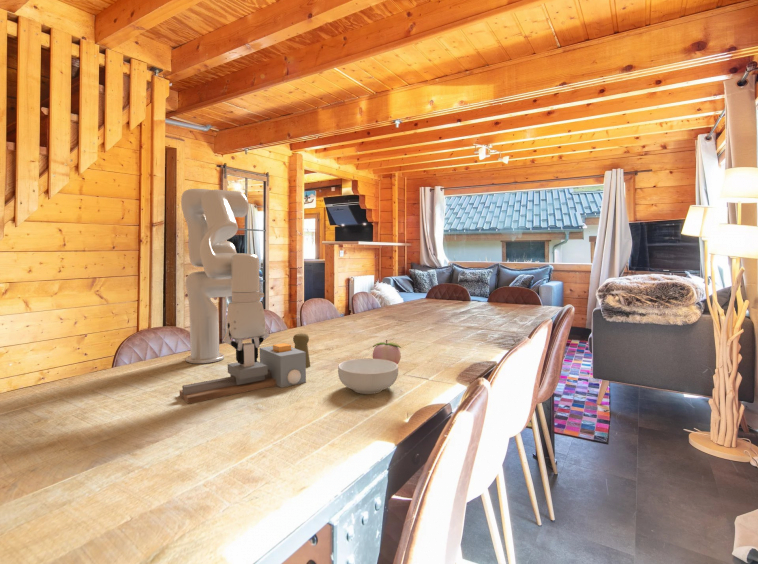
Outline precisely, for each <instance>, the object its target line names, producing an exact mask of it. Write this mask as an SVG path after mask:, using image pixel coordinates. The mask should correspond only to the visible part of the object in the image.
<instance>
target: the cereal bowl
mask: <svg viewBox="0 0 758 564" xmlns="http://www.w3.org/2000/svg"><path fill="white" fill-rule="evenodd" d="M337 373H338V379H339V380H340V382H341V384H343V385H344V386H345V387H346V388H348V389H350V390H353V392H355V393H357V394H362V395H363V394H364V395H372V394H373V395H374V394H379V393H380V392H382V391H383V390H386V389H389V388H390V387H392V386H393V385H394V384H395V383H396V381H397V378H398V375H399V365H398V364H396V363H394V362H392V361H388V360H382V359H373V358H353V359H347V360H344V361H342V362H340V363H339V364H338V366H337Z"/></svg>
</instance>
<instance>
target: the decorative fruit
mask: <svg viewBox="0 0 758 564" xmlns="http://www.w3.org/2000/svg"><path fill="white" fill-rule="evenodd" d="M372 348H374V349H373V350H372V351H373V352H372V359H382V360H388V361H392V362H394V363H396V364H397V365H398V364H399V363H400V361H401V358H402V356H401V350H400V349H401V348H402V347H401V346H400V344H398V343H396V342H388V340H387V339H385V342H377V343H375V344H374V345H372Z"/></svg>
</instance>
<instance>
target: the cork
mask: <svg viewBox="0 0 758 564" xmlns="http://www.w3.org/2000/svg"><path fill="white" fill-rule="evenodd" d="M309 337H310V336H309V335H308V333H307V334H306V333H300V332H299V333H296V334H294V335H293V337H292V340H293V343H294V348H295V349H298V350H301V351H304V352H306V369H307V368H311V360H310V352H309V346H308V343H309V340H310V338H309Z"/></svg>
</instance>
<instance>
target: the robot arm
mask: <svg viewBox="0 0 758 564" xmlns="http://www.w3.org/2000/svg"><path fill="white" fill-rule="evenodd" d="M180 204H181V206H180V207H181V211H182V215H183V218H184V219H185V222H186V225H187V231H188V232H187V239H188V254H189V255H188V256H189V262H190V263H191V265H192V266H193V267H196V268H203V270H201V271H200V270H199V271H194V272H191V273H189V274H188V275H187V276H186V278H185V288H186V294H187V300H188V310H189V311H188V314H189V340H190V355H188V356H186V357H185V361H186V362H187V363H189V364H209V363H215V362H219V361H221V360H222V361H223V359H224V358H225V355H224V353H222V352H220V328H219V326H220V325H219V321H220V320H219V309H218V307H217V305H216V304H215V303H214V302H213V301H212V300H211V299H214V298H227V297H231V302H229V303H228V306H227V310H226V311H227V313H226V319H225V320H226V323H225V334H224V337H223V339H222V343H223V342H224V343H225V344H228V345H230V346H232V348H234V349H235V359H236V362H238V363H240V364H244V350H242V343H243V341H244V339H250V341H251V342H250V343H253V344H254V361H255V362H257V361H258V359H259V349H260V345H261V344H262V343H263V342H264V341H265V340H266V339H268V338H269V337H270V333H269V331H268V330H267V327H266V316H265V310H264V305H263V302H262V301H261V299H262V298H264V297H265V293H264V292H261V291H260V259H259V256H258V255H257V254H254V253H245V252H244V253H242V252H241V253H238V252H237V250H236V249H237V248H236V246H235V244H233V242H231V241H229V240H230V239H232V238H233V237H234V236H235V235H236V234H237V233H238V229H239V225H238V223H237V220H236V218H244V217H246V216H247V215H248V212H249V205H250V204H249V200H248V198H247V197H246V195H245V194H244V193H243V192H241V191H239V190H237V191H236V190H228V189H208V188H207V189H206V188H190V189H189V188H188V189H186V190H184V191H183V192H182V195H181V200H180ZM227 240H228V241H227ZM232 339H233V340H232Z"/></svg>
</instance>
